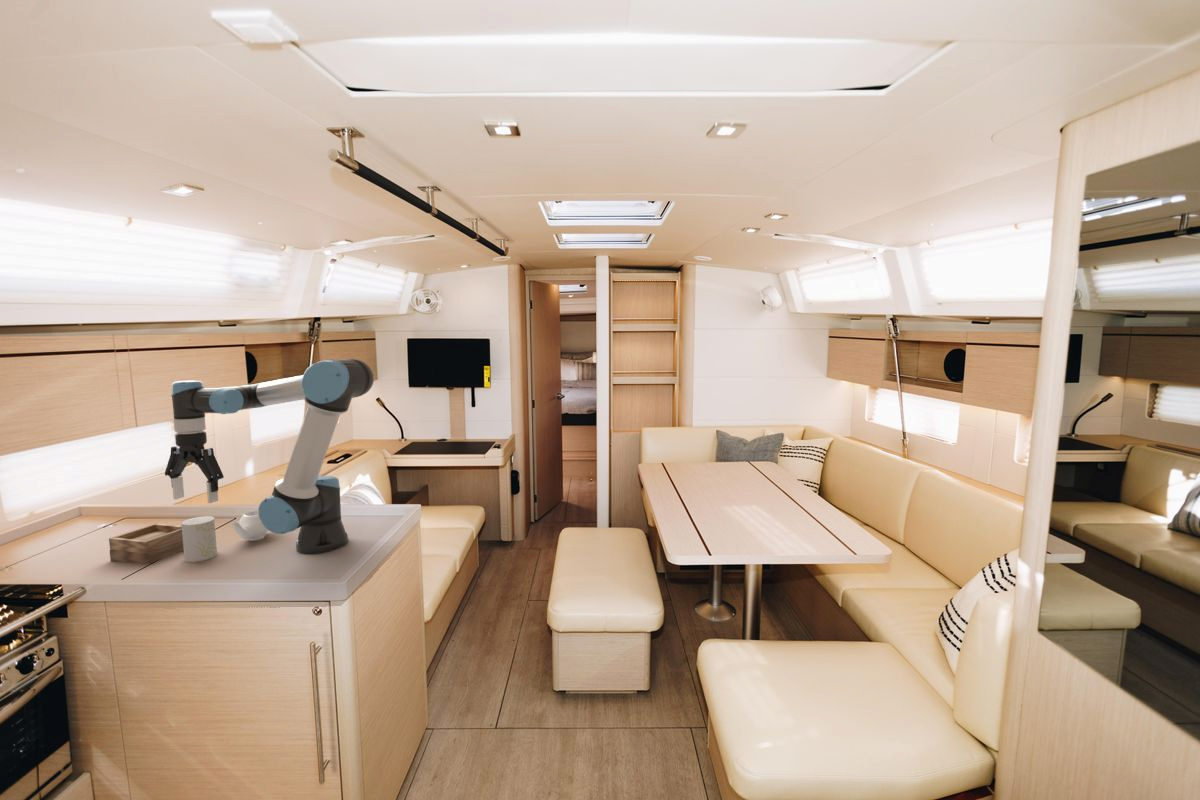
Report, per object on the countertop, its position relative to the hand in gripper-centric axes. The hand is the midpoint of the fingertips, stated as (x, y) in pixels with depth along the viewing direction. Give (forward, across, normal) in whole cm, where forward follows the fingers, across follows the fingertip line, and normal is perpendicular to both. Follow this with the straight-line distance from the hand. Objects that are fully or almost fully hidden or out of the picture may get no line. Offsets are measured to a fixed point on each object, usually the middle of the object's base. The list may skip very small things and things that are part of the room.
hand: (195, 500), depth 165 cm
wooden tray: (+15, +18, +2) cm, 23 cm away
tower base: (+18, +18, +2) cm, 26 cm away
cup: (+19, 0, 0) cm, 19 cm away
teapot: (+19, -3, -17) cm, 25 cm away
